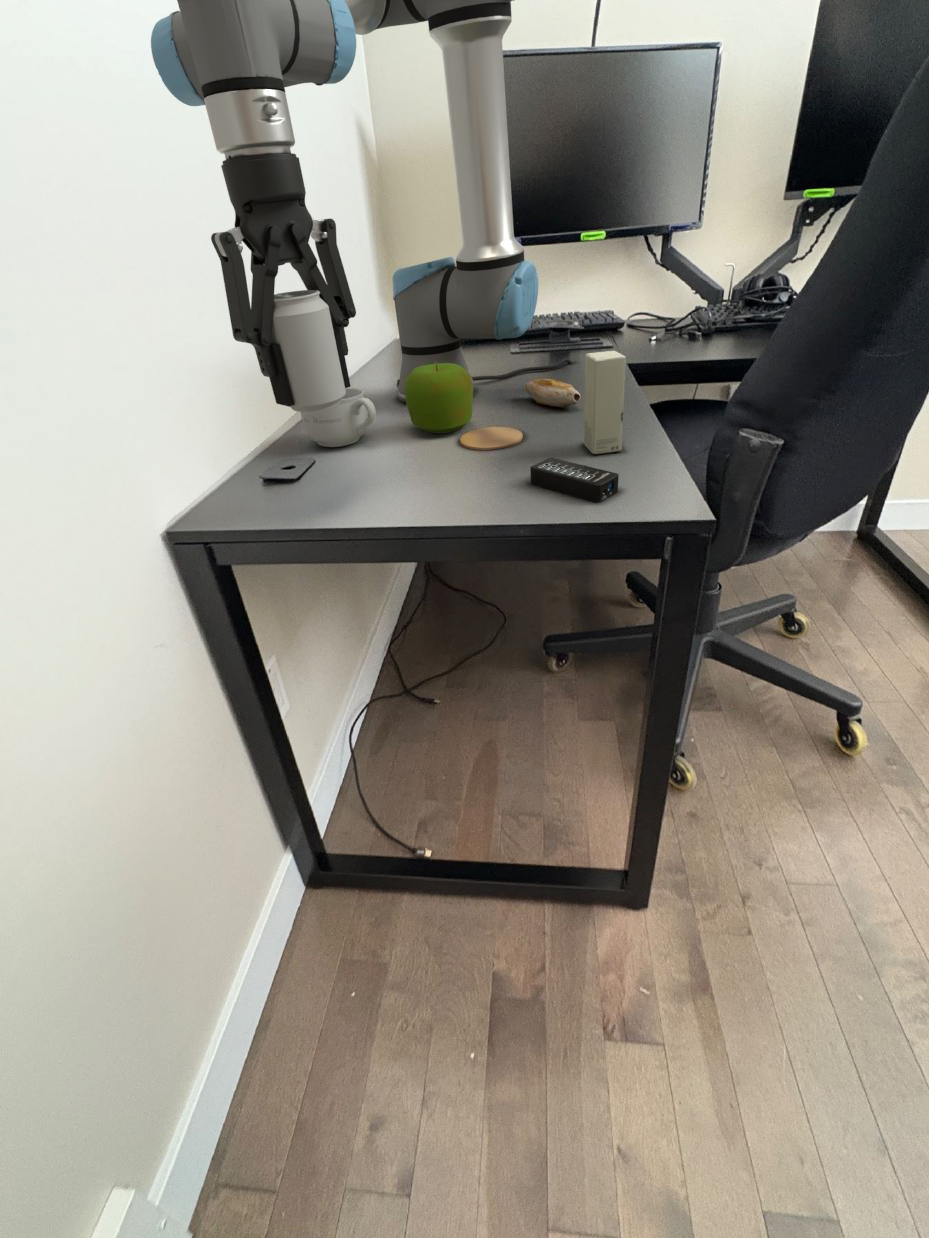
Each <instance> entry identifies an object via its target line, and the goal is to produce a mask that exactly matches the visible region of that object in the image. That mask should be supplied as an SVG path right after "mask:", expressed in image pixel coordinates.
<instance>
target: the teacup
mask: <svg viewBox="0 0 929 1238" xmlns="http://www.w3.org/2000/svg"><path fill="white" fill-rule="evenodd" d="M345 391H346V394H345V395H344V396H343V398H342V399H341V402H340V403H339V404H338V405H336V406H334V407H331V408H328V409H324V410H320V411H314V412H299V413H300V417H301V421H302V425H303V429H304V431H305V434H306V435H307V437H308V438H309V439H310V440H312V441H313V442H315V443H317V444H318V446H321V447H325V448H337V447H345V446H348V445H352V444H355V443H357V442H358V441H359V440H360V439H361V437H362V436H364V434H365V433H366V431H367V429H368V427H370V426H371V425H372V424H373V423H374V421H375V419H376V416H377V415H376V414H377V411H376V410H377V409H376V407H375V404H374V403H373V402H372V400H371V399H369V398H368V397H365V391H364V390H363V389H361V388H356V387H348V388H345Z"/></svg>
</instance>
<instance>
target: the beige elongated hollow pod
mask: <svg viewBox="0 0 929 1238" xmlns="http://www.w3.org/2000/svg"><path fill="white" fill-rule="evenodd" d="M524 389H525V391H526V392H527V394H529V396H531V397H532V398H533V401H535V402H536V403H537V404H540V405H546V406H550V407H558V408H569V407H570V406H571V405H572V406H573V405H576V404H578V403H579V402H580V401H581V399H582V395H581V394H580V392H579V391H578V390H577V389H575V388H574V387H573V385H572V384H570V383H565V382H563V381H558V380H556V379H552V378H536V379H533V380H531V381H528V382H526V383H525V384H524Z"/></svg>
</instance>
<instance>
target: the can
mask: <svg viewBox="0 0 929 1238" xmlns="http://www.w3.org/2000/svg"><path fill="white" fill-rule="evenodd" d="M319 294H320V292H319V291H318V290H307V289H302V290H293V291H285V292H280V293H279V292H278V293H274V305H273V322H272V339H271V343H275V344H279V345H280V349H281V353H282V357H283V361H284V365H285V369H286V373H287V377H288V381H289V385H290V389H291V393H292V397H293V401H294V405H293V406H290V407H289V408H291V410H293V411H294V412H299V413H300V412H314V411H320V410H324V409H328V408H331V407H334V406H336V405H338V404H339V403H340V402H341V399H342V398H343V396H344V395H345V394H346V391H345V386H344V381H343V376H342V371H341V366H340V361H339V356H338V351H337V346H336V341H335V336H334V331H333V326H332V321H331V316H330V311H329V306H328V305H327V304H326V303H325V302H324V301H323V300H322V299H321V298H320V297H319Z"/></svg>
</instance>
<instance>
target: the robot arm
mask: <svg viewBox="0 0 929 1238" xmlns="http://www.w3.org/2000/svg"><path fill="white" fill-rule="evenodd" d="M176 1H177V4H178V9H179V10H176V11H173V12H170V13H169V14H168V16H165V17H162V18H161V19H159V20H158V21H157V22H156V23H155V24H154V26H153V29H152V30H151V35H150V49H151V55H152V59H153V63H154V66H155V69H156V70H157V73H158V75H159V76H160V78H161V81H162V83H163V84H164V86H165V87H166V89H167V90H168V91H169V93H170V94H171V95H172V96H173V97H174V98H175V99H177V100H178V101H179V102H180V103H182V104H183V105H186V106H189V107H201V106H205V110H206V114H207V117H208V121H209V124H210V129H211V134H212V137H213V141H214V145H215V149H216V151H217V152H218V153H219V154H222V155H224V160H222V161H221V162H222V164H221V165H220V168H221V170H222V174H223V178H224V181H225V186H226V190H227V194H228V197H229V198H228V199H229V201H230V203H231V205H232V207H233V210H234V214H235V215H234V216H235V217H234V227H232V228H230V229H228V230H225V231H220V232H213V233H212V234H211V237H210V240H211V243H212V246H213V248H214V250H215V252H216V253H217V257H218V258H219V261H220V266H221V272H222V279H223V284H224V290H225V297H226V302H227V307H228V313H229V320H230V325H231V332H232V337H233V339H234V340H235V341H236V342H240V343H245V344H250V345H251V346H252V347H253V349H254V351H255V355H256V359H257V362H258V365H259V369H260V373H261V374H262V376H263V377H266V378H268V379H269V382H270V385H271V390H272V394H273V396H274V401H275V403H276V404H277V405H281V406H284V407H288V408H291V407H290V406H293V405H294V401H293V397H292V393H291V389H290V385H289V381H288V377H287V373H286V369H285V365H284V361H283V357H282V353H281V349H280V345H279V344H275V343H271V339H272V322H273V305H274V295H275V288H276V287H275V285H276V284H275V283H276V278H277V275H278V274H279V266H284V265H286V264H290V266H291V267H292V269H293V270H295V271H296V273H297V274H298V276H299V277H300V280H301V281H302V283H303V285H304V287H305V288H306V290H318V291H319V292H320V294H319V297H320V298H321V299H322V300H323V301H324V302H325V303H326V304H327V305H328V306H329V311H330V316H331V321H332V326H333V331H334V336H335V341H336V346H337V351H338V356H339V361H340V366H341V371H342V376H343V381H344V386H345V388H352V387H351V383H350V382H351V381H350V376H349V370H348V365H347V360H346V356H348V355H349V346H348V342H347V335H346V331H345V328H347V327H349V325H350V319H351V318H352V319H353V318H355V317H356V316H357V309H356V305H355V302H354V299H353V295H352V292H351V289H350V285H349V282H348V278H347V275H346V271H345V267H344V265H343V261H342V258H341V253H340V250H339V247H338V243H337V242H338V241H337V223H336V221H335V220H334V219H333V218H321V219H320V218H315V217H312V215H311V213H310V212H309V210H308V207H307V205H306V194H307V192H306V187H305V181H304V177H303V176H304V175H303V172H302V166H301V162H300V158H299V157H298V156H297V154H296V153H292V150H291V148H293V147H294V146H295V144H296V139H295V133H294V129H293V125H292V119H291V114H290V110H289V104H288V99H287V94H286V88H288V87H292V86H297V85H301V84H314V85H316V86H319V87H321V86H324V85H334V84H337V83H340V82H341V81H344V79H345V78H346V77H347V76H348V74H349V73H350V71H351V70H352V68H353V65H354V62H355V59H356V52H357V35H359V36H365V35H368V34H370V33H372V32H374V31H376V30H379V29H384V28H389V27H398V26H406V25H413V24H419V23H424V22H427V24H428V33H429V37H430V38H431V39H432V40H433V41H434V43H436V44H437V46H438V47H439V48H440V50H441V52H442V53H441V55H442V63H443V72H444V80H445V82H444V83H445V90H446V100H447V109H448V119H449V128H450V136H451V137H450V138H451V145H452V146H451V147H452V156H453V163H454V174H455V184H456V193H457V202H458V212H459V222H460V229H461V231H460V232H461V237H462V238H461V239H462V245H461V247H460V249H459V251H458V252H457V253H456V254H455V259H454V258H453V256H448V257H444V258H440V259H435V260H432V261H427V262H423V263H418V264H415V265H411V266H406V267H401V268H399V269H397V270H396V271H394V273H393V275H392V293H393V295H392V300H393V301H394V308H395V314H396V315H395V316H396V322H397V330H398V336H399V343H400V344H399V345H400V350H401V364H400V370H399V371H400V372H399V379H397V382H396V388H397V397H398V400H399V401H400V402H402V403H405V404H406V398H405V393H404V387H405V379H406V378H407V377H408V375H409V374H410V373H411V372H412V371H413V369H414V368H416V367H419V366H424V365H430V364H436V363H435V361H437V364H439V363H451V364H457V365H459V366H461V367H462V368H463V369H465V370H466V371H467V372H468V373H470V372H469V367H468V364H467V361H466V359H465V356H464V353H463V350H462V341H461V340H462V339H475V340H477V339H478V340H479V339H481V340H483V339H485V340H486V339H487V340H488V339H489V340H491V339H494V340H498V341H501V340H503V339H516V338H519V337H522V335H524V334H525V333H526V332H527V330H528V329H529V327H530V326H531V324H532V321H533V319H534V315H535V312H536V308H537V304H538V297H539V274H538V272H537V267H536V265H535V264H534V263H533V262H530V261H529V260H525V248H524V246H523V245H522V244H521V243H520V242H519V241H518V240H517V239H516V237H515V232H514V215H513V214H514V213H513V200H512V199H513V198H512V183H511V182H512V181H511V167H510V166H511V165H510V150H509V148H510V147H509V132H508V117H507V102H506V101H507V100H506V85H505V84H506V83H505V82H506V81H505V67H504V51H503V38H504V36H505V33H506V32H507V30H508V29H509V27H510V26H511V24H512V21H513V20H512V19H513V18H512V2H515V0H176ZM310 238H311V239H312V240H314V245H315V250H316V253H317V256H318V259H319V263H320V266H321V269H322V272H323V273H322V272H321V270H320V268H319V265H318V259H317V257H316V255H315V254H314V251H313V249H312V247H311V246H310V243H309V242H310ZM242 243H243V244H244V245H245V246H246V247H247V248H248V250H249V251H250V272H251V275H252V279H251V301H250V295H249V288H248V282H247V275H246V268H245V263H244V259H243V258H244V257H243V255H242V253H243V251H244V246H243V245H242ZM564 363H567V364H568V365H573V364H574V363H573V361H572V360H571V359H569V358H567V357H564V358H562V359H560V360H559V361H558V362H557V363H554V364H551V365H542V366H532V367H523V368H518V369H515V370H512V371H510V372H507V373H503V374H497V375H477V376H472V375H471V374H470V376H471V379H472V383H473V393H474V391H475V385H474V382H475V381H488V380H489V381H491V380H493V381H494V380H502V379H506V378H510V377H511V376H515V375H517V374H521V373H526V372H535V371H536V372H537V371H548V370H552V369H556V368H558V367H560V366H562V365H563V364H564Z"/></svg>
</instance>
